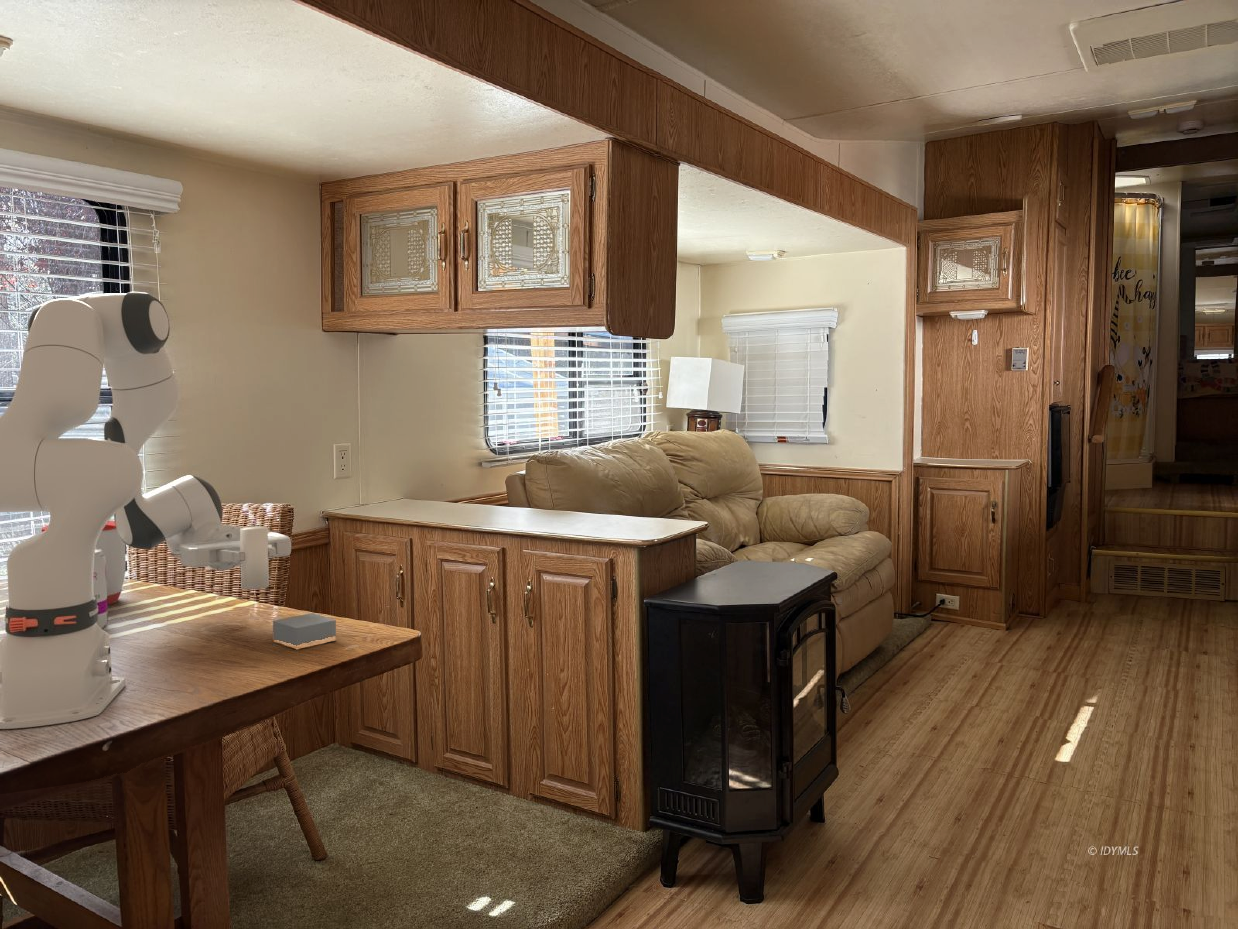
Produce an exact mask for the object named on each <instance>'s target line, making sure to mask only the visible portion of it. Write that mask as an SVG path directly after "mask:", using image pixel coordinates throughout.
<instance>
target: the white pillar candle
mask: <svg viewBox="0 0 1238 929" xmlns="http://www.w3.org/2000/svg"><path fill="white" fill-rule="evenodd" d="M242 527H243V528H240V551H242V552H244V554H245V556H244V558H245V560H244V561H241V565H240V586H241V587H240V588H241V590H261V589H266V588H269V587H270V586H269V585H270V584H269V583H270V579H269V578H270V577H269V575H270V574H269V571H270V570H269V558H268V531H269V527H268V526H261V525H258V526H254V525H253V526H242Z"/></svg>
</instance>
